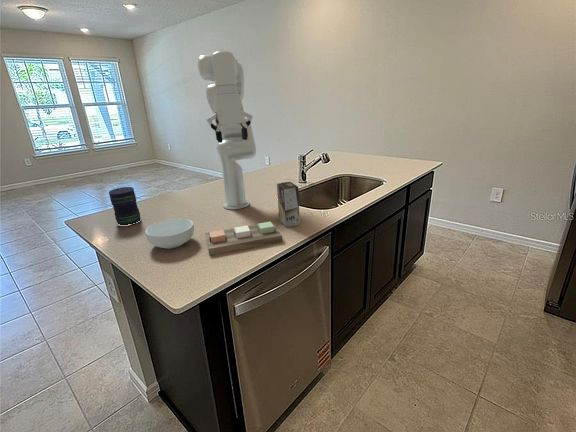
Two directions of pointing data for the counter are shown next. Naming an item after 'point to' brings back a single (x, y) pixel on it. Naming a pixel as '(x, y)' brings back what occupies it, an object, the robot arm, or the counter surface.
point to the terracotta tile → (217, 236)
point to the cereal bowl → (170, 233)
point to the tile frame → (242, 240)
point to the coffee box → (288, 204)
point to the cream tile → (242, 232)
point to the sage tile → (265, 227)
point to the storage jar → (125, 205)
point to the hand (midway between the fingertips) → (232, 141)
